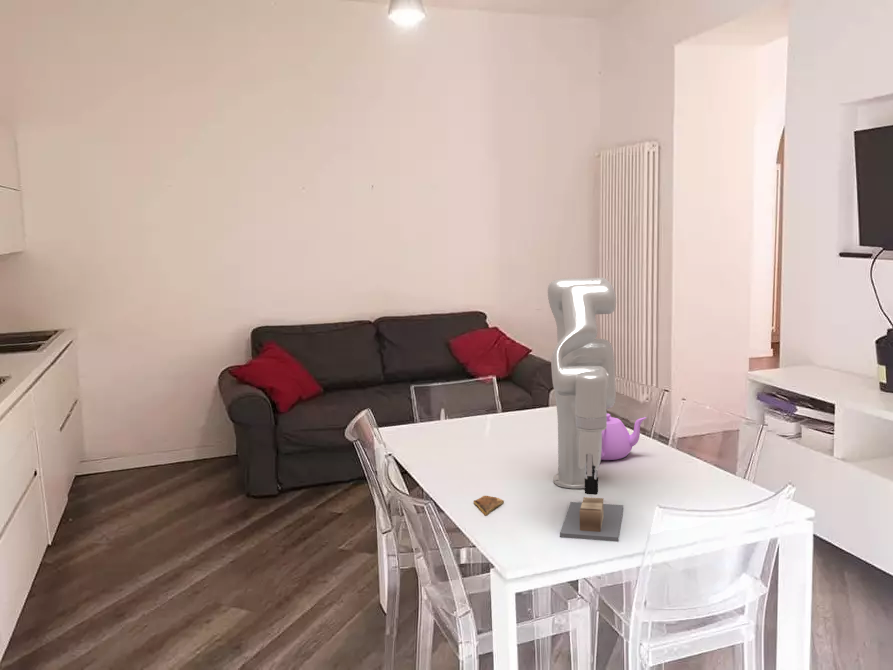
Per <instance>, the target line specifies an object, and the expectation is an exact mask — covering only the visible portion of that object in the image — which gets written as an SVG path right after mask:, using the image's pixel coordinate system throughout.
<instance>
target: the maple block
mask: <svg viewBox="0 0 893 670" xmlns="http://www.w3.org/2000/svg"><path fill="white" fill-rule="evenodd" d="M581 502H582V505H581V508H580V530H581V531H595V532H600V531H601V526H602V521H603V504H604V498H603V497H588V496H586V497H585V496H583V499H582V501H581Z"/></svg>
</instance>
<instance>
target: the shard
mask: <svg viewBox="0 0 893 670" xmlns="http://www.w3.org/2000/svg"><path fill="white" fill-rule="evenodd" d="M504 503H505V500H503V499H501V498H499V497H496V496H489V495H482V496H481V497H479V498H477V499H475V500H473V504H474V505H475V506H477V507H478V509H479V511H481V512H482V514H483V515H484V516H488V515H489V514H491V512H492V511H494V510H495V509H497V508H498V507H500V506H501V505H503V504H504Z"/></svg>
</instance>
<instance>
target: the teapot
mask: <svg viewBox="0 0 893 670" xmlns="http://www.w3.org/2000/svg"><path fill="white" fill-rule="evenodd" d="M646 419H647V417H646V416H645V417H640V418H638V419H636V420H635V422H634V425H633V426H634V427H633V431H632V433H631V434H630V433H629V431H628V429H627V427H626V426H625V424H624V422H622V420H621V419H620V418H617V417H614V416H613V417H612V416H611V413H607V428H606V429H605V430H603V431H602V451H601V461H617V460H621V459H623V458H626V457H627V455H630V454H629V453H630V452H631V451H632V449H633V447H635V446H636V444H638V442H639V440H640V435H641V426H642V425H641V424H642V422H643V421H644V420H646Z"/></svg>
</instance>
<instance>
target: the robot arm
mask: <svg viewBox="0 0 893 670" xmlns="http://www.w3.org/2000/svg"><path fill="white" fill-rule="evenodd" d="M616 296H617V295H616V291H615V289H614V286H613V285H612V283H611V282H610V281H609V280H608V279H607V278H605V277H568V278H566V277H565V278H558V279H555V280H552V281H551V282H550V283H549V284H548V287H547V300H548V306H549V308H550V311H551V313H552V315H553V318H554V320H555V321H554V322H555V324H556V337H557V343H556V345H555V347H554V349H553V352H552V354H551V363H550V366H551V379H552V380H551V381H552V388H553V390H554V393H553V394H554V399H555V405H556V413H557V453H558V454H557V455H558V460H557V461H558V462H557V464H558V469H557V470H558V473H557V474H555V475H554V476H553V480H552V483H554V484H555V486H558V487H561V488H565V489H572V490H573V489H576V490H577V489H579V490H580V489H584V494H585V495H596V496H597V495H598V493H599V477H598V470H599V468H600V464H601V461H602V460H601V451H602V431H603V430H605V429H606V428H607V409H611V408H612V407H614V406H615V403H616V398H617V397H616V396H617V393H616V392H617V389H616V367H615V356H614V355H615V354H614V349H613V345H612V344H611V342H610V341H609V340H607V339H605V338H597V337H598V324H597V319H596V315H611V314H613V312H615V309H616V307H617V297H616Z"/></svg>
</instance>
